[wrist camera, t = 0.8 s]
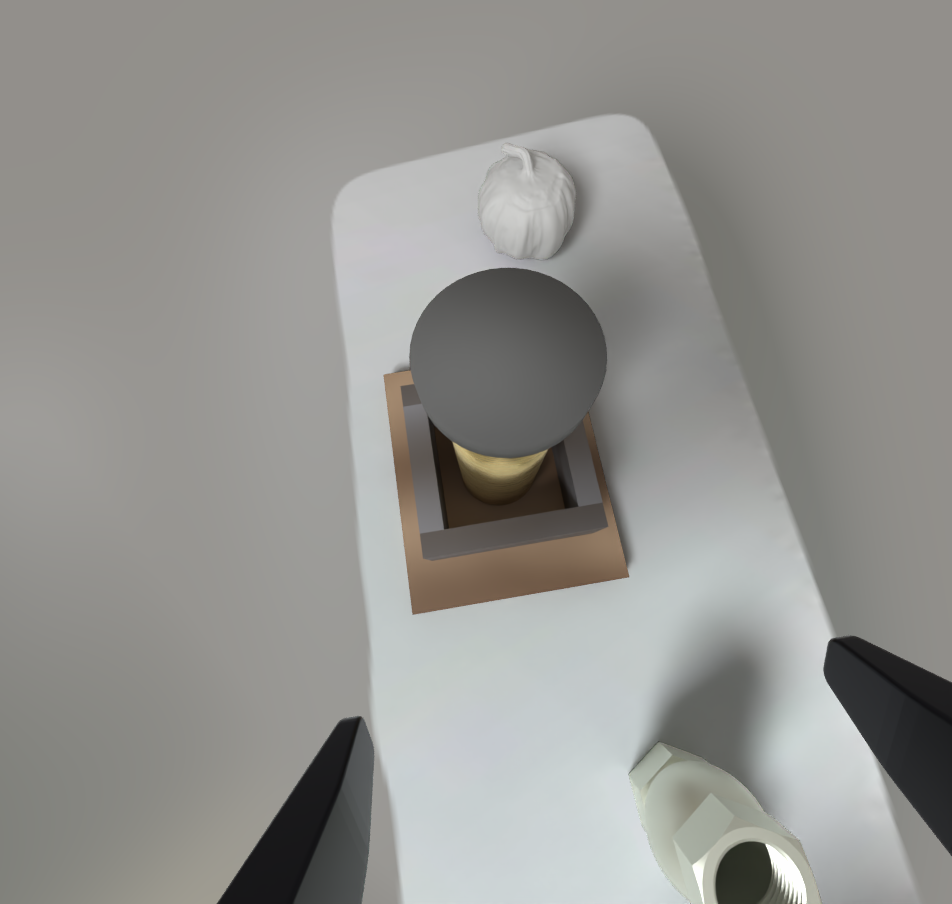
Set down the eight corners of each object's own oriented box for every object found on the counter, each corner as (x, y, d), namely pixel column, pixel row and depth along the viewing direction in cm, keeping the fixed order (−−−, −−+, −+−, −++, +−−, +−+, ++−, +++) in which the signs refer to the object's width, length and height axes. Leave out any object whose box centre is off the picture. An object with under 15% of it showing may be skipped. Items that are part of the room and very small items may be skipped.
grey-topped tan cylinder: (554, 507, 22) (629, 428, 10) (458, 523, 21) (423, 462, 10) (535, 417, 23) (581, 254, 11) (444, 432, 23) (398, 284, 11)
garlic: (462, 212, 28) (456, 131, 23) (544, 184, 28) (555, 98, 23) (498, 292, 26) (501, 224, 21) (585, 261, 26) (607, 187, 21)
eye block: (623, 577, 22) (652, 577, 18) (416, 612, 21) (400, 621, 18) (568, 352, 25) (582, 311, 21) (387, 382, 25) (368, 346, 21)
